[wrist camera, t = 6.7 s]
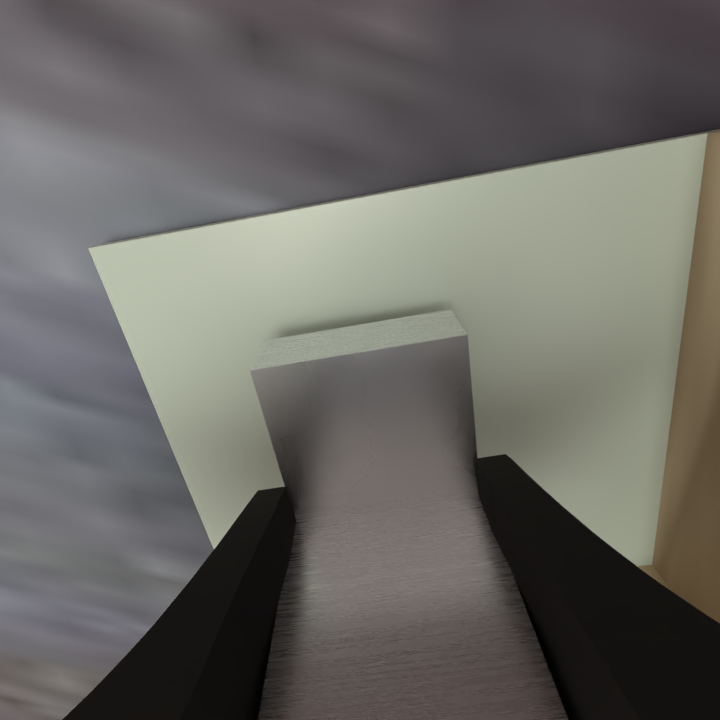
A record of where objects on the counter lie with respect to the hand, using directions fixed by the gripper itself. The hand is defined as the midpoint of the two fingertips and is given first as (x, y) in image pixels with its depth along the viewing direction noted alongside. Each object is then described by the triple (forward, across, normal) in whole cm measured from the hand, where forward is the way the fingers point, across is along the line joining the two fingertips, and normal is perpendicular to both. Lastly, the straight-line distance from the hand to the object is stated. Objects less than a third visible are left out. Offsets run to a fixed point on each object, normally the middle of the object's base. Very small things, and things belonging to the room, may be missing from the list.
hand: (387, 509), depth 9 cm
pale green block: (+3, -2, 0) cm, 4 cm away
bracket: (+2, 0, -1) cm, 2 cm away
